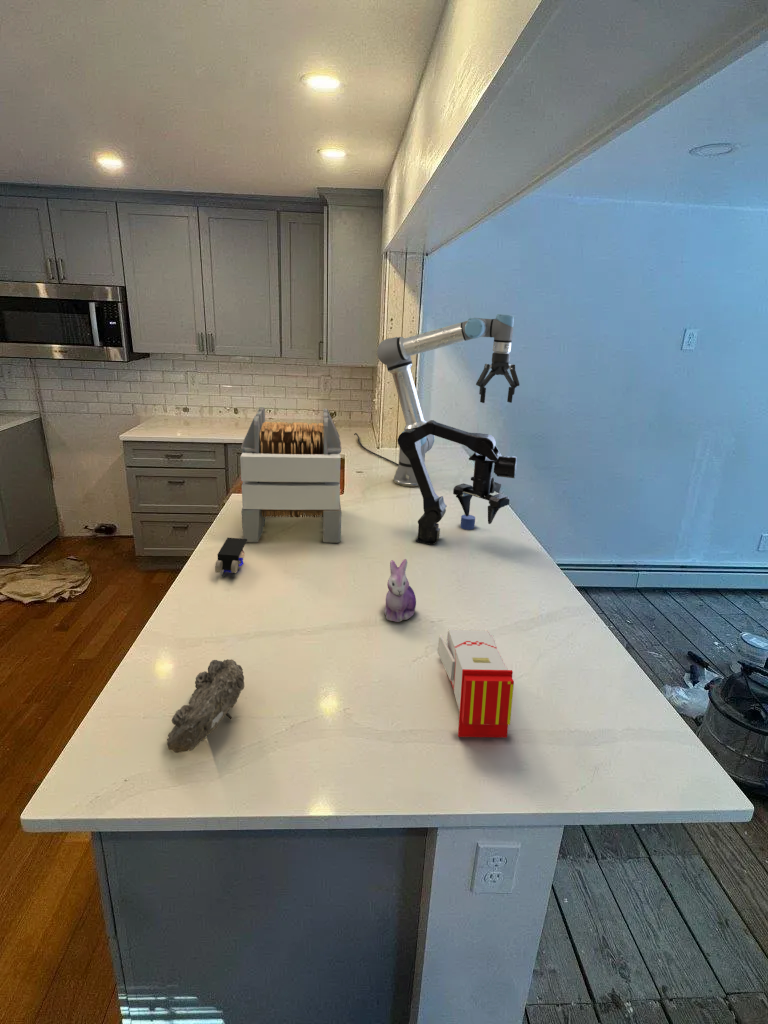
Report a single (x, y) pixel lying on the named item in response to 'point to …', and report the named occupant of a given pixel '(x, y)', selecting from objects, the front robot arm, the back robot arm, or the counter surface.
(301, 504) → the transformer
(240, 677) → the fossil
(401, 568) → the figurine
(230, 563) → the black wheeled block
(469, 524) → the cylinder
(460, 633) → the toy
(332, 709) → the counter surface
